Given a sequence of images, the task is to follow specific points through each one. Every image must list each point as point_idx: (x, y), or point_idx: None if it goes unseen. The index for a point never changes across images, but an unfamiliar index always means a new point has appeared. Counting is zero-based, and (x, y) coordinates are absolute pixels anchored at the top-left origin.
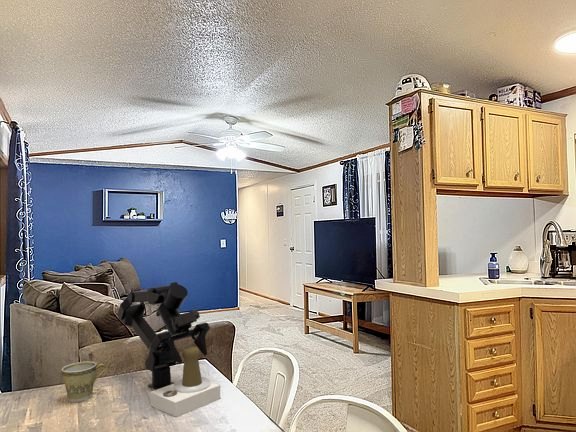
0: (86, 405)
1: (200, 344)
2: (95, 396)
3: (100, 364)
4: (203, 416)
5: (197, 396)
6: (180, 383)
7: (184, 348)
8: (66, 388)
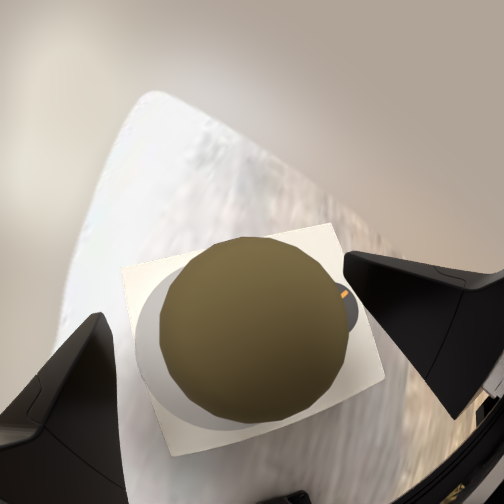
0: (459, 443)
1: (90, 426)
2: None
3: None
4: (242, 196)
5: None
6: None
7: (330, 377)
8: None
